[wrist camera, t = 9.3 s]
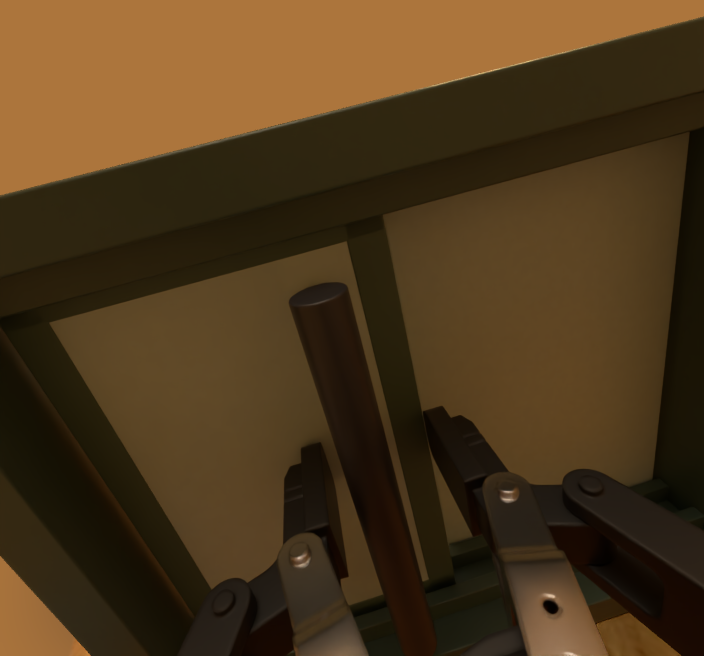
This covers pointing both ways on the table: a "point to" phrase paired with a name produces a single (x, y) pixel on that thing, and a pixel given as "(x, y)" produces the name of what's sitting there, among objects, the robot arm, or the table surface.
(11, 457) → the window frame
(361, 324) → the window pane
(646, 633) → the table surface
